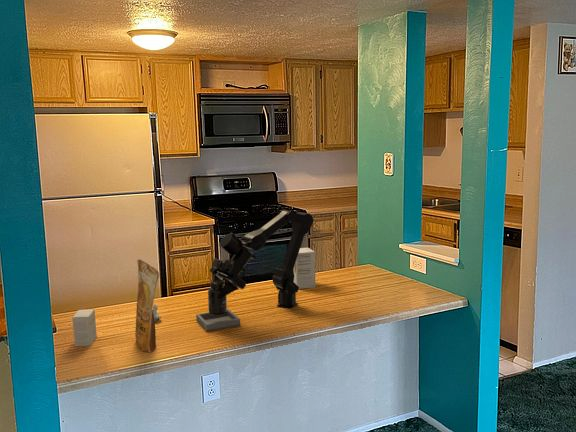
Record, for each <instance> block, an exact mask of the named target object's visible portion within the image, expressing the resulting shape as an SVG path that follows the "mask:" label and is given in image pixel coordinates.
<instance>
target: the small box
mask: <svg viewBox="0 0 576 432" xmlns="http://www.w3.org/2000/svg"><path fill="white" fill-rule="evenodd" d="M72 329H73V330H72V331H73V341H74V346H75V347H88V346H89V347H90V346H92V344H93V343H94V341H95V340H96V339H97V337H98V335H97V323H96V310H95V309H94V308H93V309H78V310H77V311H76V312H75V314H74V315H73V316H72Z"/></svg>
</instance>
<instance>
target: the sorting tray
mask: <svg viewBox="0 0 576 432" xmlns="http://www.w3.org/2000/svg"><path fill="white" fill-rule="evenodd" d="M195 315H196V316H195V317H196V318H195V320H196V322H197V323H198V324H199V326H201V327H202V328H203V329H204V331H205V332H211V331H216V330H222V329H229V328H234V327H238V326H239V327H240V326H241V318H240V317H239V316H238V315H236V314H235V313H234V312H233V311H232V310H231V309H229V308H227V312H226V313H225V314H222V315H212V314H210V313H209V311H207V312H201V313H196V314H195Z"/></svg>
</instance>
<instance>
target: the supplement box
mask: <svg viewBox="0 0 576 432" xmlns="http://www.w3.org/2000/svg"><path fill="white" fill-rule="evenodd" d="M293 270H294V283H295V284H296V285H297V286H298V287H299V289H298V290H302V289H312V288H316V251H314V250H313V249H311V248H310V247H300V250H299V253H298V256H297V259H296V262H295V266H294V269H293Z"/></svg>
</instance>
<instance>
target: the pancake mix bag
mask: <svg viewBox="0 0 576 432" xmlns="http://www.w3.org/2000/svg"><path fill="white" fill-rule="evenodd" d="M136 261H137V272H138V273H137V275H138V276H137V280H138V281H137V298H136V310H135V311H136V312H135V313H136V314H135V315H136V316H135V330H134V331H135V332H134V333H135V335H134V336H135V340H136V342H137V344H138V346H139V347H140V349H141V351H143V352H149V353H152V352H154V351H155V350H156V347H157V346H156V345H157V344H156V343H157V342H156V341H157V340H156V339H157V336H156V333H157V331H156V323H155V322H156V321H155V320H154V314H153V306H154V300H155V295H156V294H155V292H156V288H157V283H158V280H159V276H160V273H159V271H158V270H157V269H156V268H155V267H153V266H151V265H150V264H149V263H148V262H146V261H144V260H142V259H137V260H136Z"/></svg>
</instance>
